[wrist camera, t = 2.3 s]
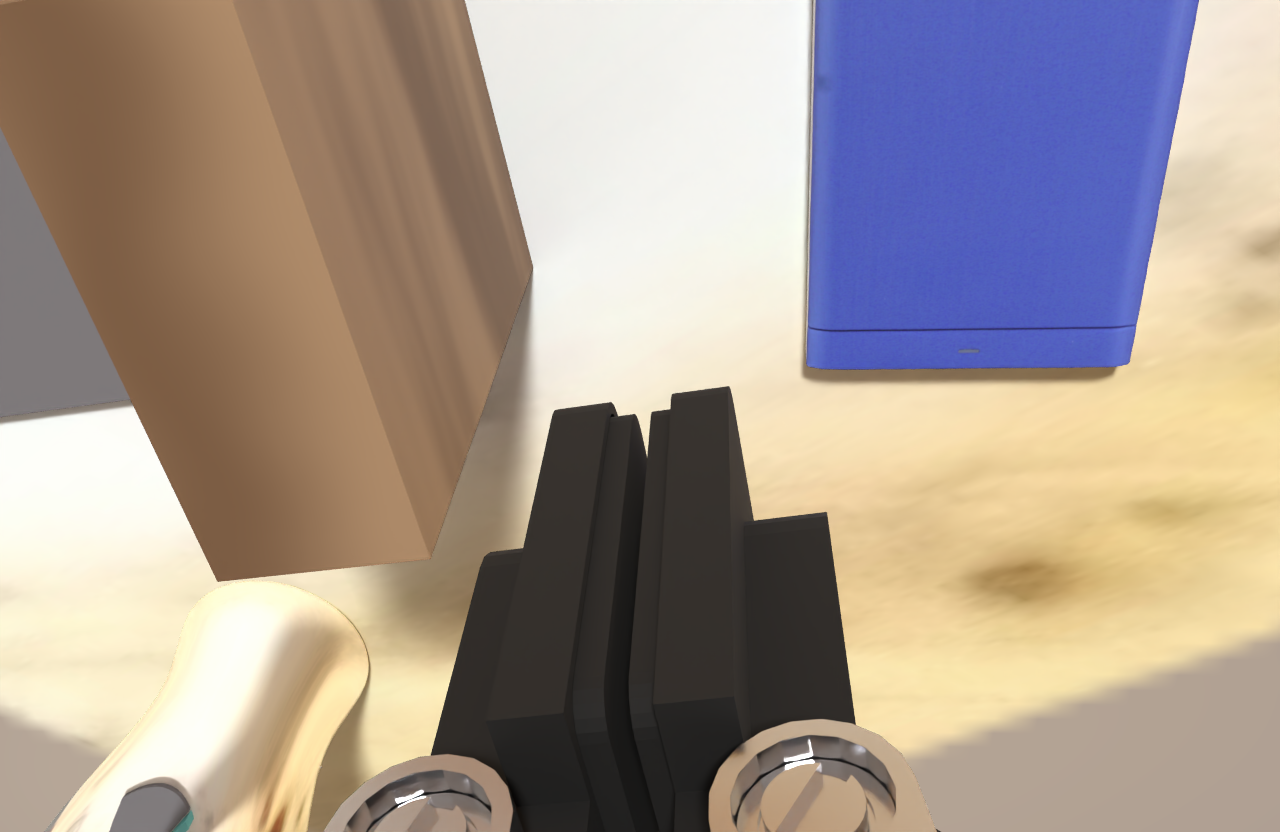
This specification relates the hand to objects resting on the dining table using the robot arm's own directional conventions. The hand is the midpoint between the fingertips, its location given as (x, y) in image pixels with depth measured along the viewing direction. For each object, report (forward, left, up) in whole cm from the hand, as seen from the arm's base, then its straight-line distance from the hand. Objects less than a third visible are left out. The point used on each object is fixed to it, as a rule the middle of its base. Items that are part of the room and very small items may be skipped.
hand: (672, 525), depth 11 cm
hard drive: (-6, +3, -19) cm, 21 cm away
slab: (+7, 0, -19) cm, 20 cm away
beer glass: (+17, +17, -19) cm, 31 cm away
